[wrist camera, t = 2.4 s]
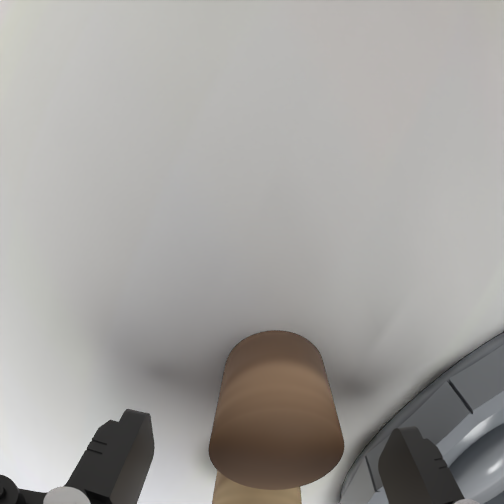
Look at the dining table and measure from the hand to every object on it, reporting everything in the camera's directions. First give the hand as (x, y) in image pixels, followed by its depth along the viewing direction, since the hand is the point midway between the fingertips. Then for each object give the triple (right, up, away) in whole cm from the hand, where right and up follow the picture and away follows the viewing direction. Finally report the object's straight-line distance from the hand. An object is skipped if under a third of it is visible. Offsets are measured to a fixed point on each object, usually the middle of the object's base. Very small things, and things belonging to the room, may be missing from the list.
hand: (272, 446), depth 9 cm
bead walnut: (0, +1, +3) cm, 4 cm away
